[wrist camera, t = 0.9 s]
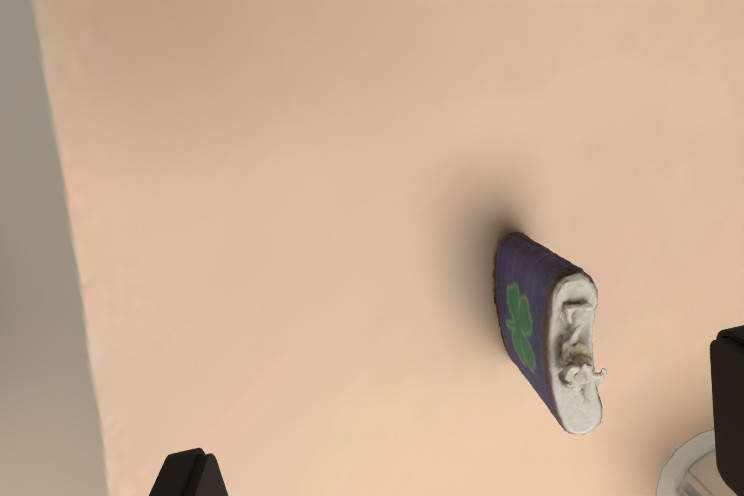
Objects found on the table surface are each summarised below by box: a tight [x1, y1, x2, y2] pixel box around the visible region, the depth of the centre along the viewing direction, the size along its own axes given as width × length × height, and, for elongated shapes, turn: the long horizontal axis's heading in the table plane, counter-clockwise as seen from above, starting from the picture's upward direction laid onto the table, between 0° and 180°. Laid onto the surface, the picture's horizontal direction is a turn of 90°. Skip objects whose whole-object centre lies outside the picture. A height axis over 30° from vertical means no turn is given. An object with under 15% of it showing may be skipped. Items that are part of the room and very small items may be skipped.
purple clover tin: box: [493, 232, 607, 435], centre depth 32 cm, size 9×3×11 cm, turn 9°
